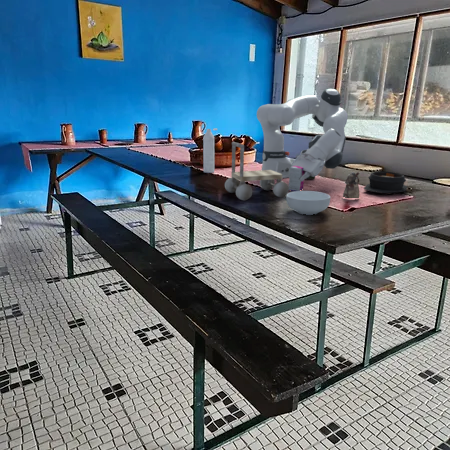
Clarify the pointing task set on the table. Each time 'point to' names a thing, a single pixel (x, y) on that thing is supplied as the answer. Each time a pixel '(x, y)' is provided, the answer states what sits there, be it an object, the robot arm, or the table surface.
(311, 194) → the cereal bowl
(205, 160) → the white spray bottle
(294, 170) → the supplement box
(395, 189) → the casserole
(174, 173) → the table surface
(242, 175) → the trolley
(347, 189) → the figurine
